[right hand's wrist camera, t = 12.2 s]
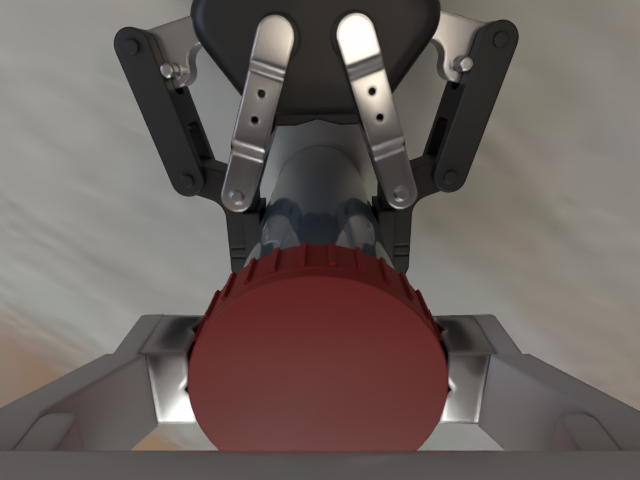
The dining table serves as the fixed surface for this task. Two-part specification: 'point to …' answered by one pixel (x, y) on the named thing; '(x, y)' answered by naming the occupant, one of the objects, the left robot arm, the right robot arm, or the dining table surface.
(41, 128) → the dining table surface
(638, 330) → the dining table surface
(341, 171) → the blue grey cylinder
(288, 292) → the lid
